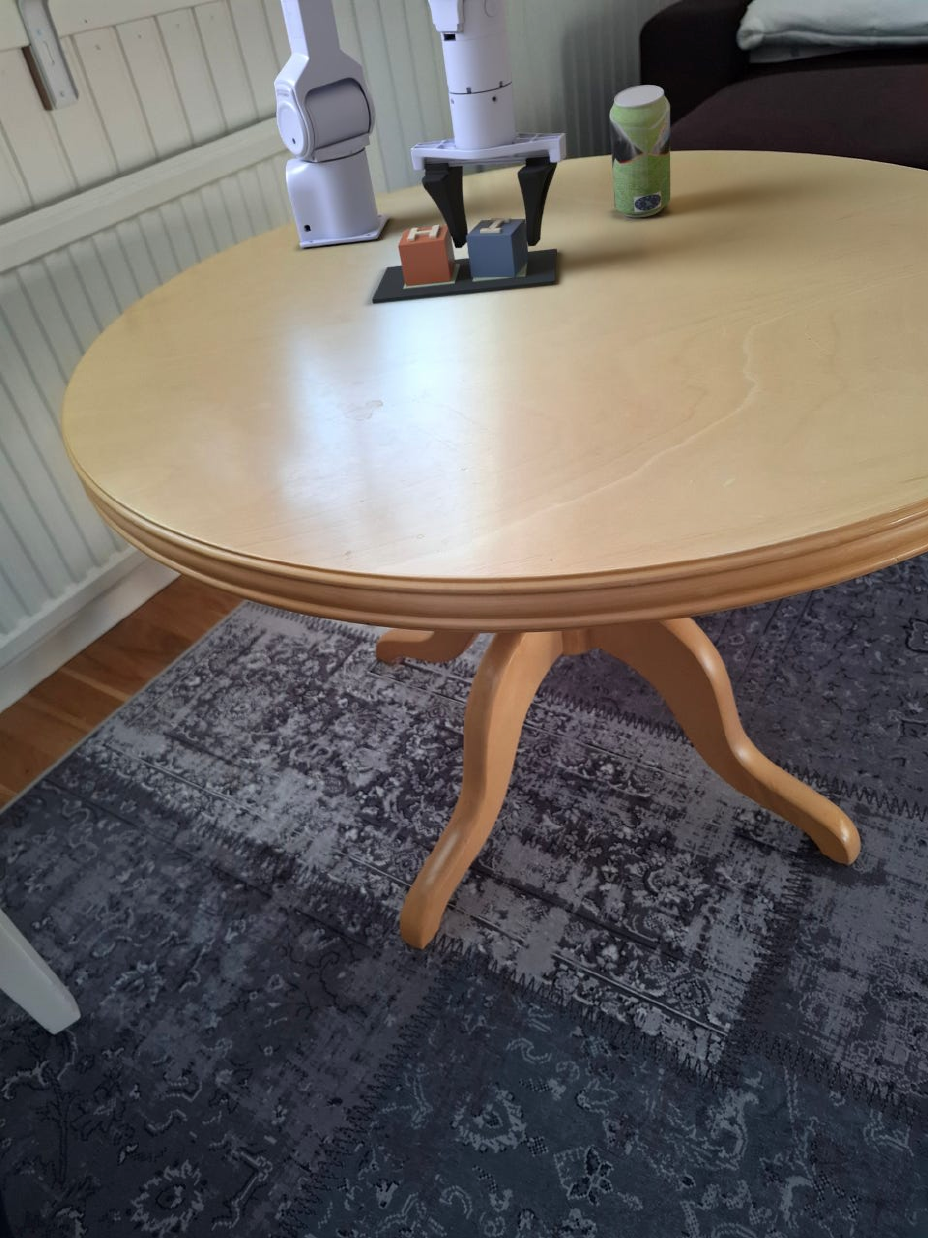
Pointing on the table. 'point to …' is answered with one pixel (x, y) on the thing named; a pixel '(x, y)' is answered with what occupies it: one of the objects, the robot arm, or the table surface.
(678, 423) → the table surface
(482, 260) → the blue cube
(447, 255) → the red letter block
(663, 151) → the beverage can
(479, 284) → the word mat
